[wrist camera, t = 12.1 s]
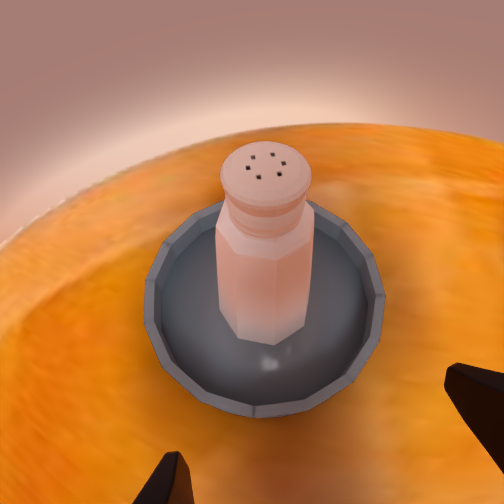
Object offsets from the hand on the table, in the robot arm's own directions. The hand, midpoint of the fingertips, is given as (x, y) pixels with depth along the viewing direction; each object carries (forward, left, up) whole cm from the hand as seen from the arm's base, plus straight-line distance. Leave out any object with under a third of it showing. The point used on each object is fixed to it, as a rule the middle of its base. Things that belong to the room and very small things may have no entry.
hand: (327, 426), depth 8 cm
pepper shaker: (+6, +4, -8) cm, 11 cm away
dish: (+7, +4, -9) cm, 12 cm away
